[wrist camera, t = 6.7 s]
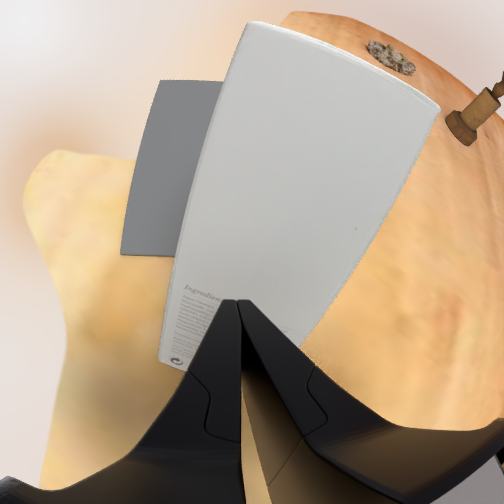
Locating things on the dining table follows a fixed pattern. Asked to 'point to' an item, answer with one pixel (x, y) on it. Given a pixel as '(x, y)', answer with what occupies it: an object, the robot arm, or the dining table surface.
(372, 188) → the skincare box
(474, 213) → the dining table surface
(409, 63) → the mineral rock
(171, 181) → the mat
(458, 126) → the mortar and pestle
